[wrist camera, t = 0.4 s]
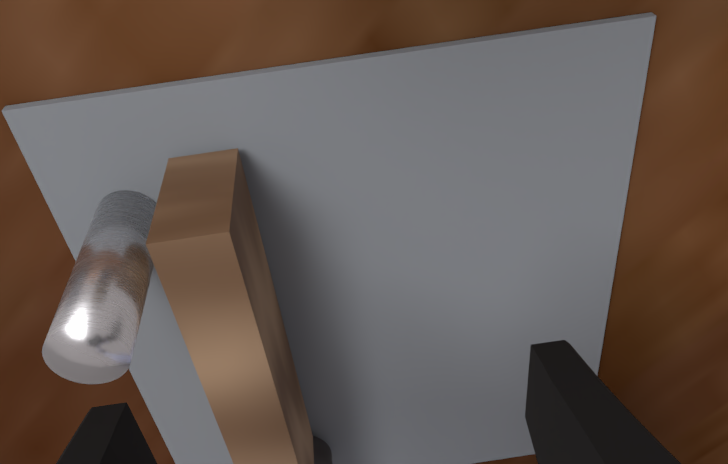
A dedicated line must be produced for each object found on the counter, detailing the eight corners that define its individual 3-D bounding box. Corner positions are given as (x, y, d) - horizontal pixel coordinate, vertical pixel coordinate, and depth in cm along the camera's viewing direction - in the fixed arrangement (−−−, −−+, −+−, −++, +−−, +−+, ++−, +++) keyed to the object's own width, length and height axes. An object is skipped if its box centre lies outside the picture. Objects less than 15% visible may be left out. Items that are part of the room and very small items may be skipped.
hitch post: (173, 232, 21) (142, 377, 16) (111, 241, 21) (61, 389, 16) (154, 180, 20) (114, 320, 15) (88, 189, 20) (27, 333, 15)
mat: (583, 440, 30) (585, 446, 30) (197, 500, 30) (196, 506, 30) (651, 12, 18) (656, 15, 18) (5, 105, 18) (1, 110, 18)
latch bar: (336, 472, 29) (347, 617, 24) (264, 483, 29) (261, 631, 24) (258, 145, 19) (251, 283, 14) (147, 161, 19) (102, 306, 14)
